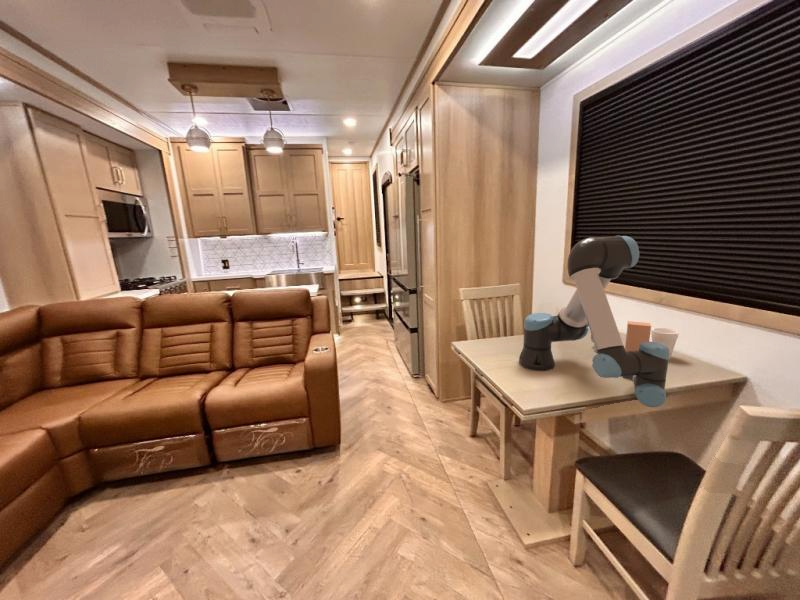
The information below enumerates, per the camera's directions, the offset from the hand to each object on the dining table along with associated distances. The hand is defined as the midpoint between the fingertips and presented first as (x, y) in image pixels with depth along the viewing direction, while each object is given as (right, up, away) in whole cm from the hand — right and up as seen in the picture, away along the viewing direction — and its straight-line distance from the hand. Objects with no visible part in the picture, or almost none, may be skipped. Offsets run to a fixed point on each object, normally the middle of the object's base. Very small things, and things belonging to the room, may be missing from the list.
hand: (639, 354), depth 130 cm
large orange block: (+8, -4, +14) cm, 17 cm away
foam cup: (+23, -5, +17) cm, 29 cm away
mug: (+2, -3, +29) cm, 29 cm away
